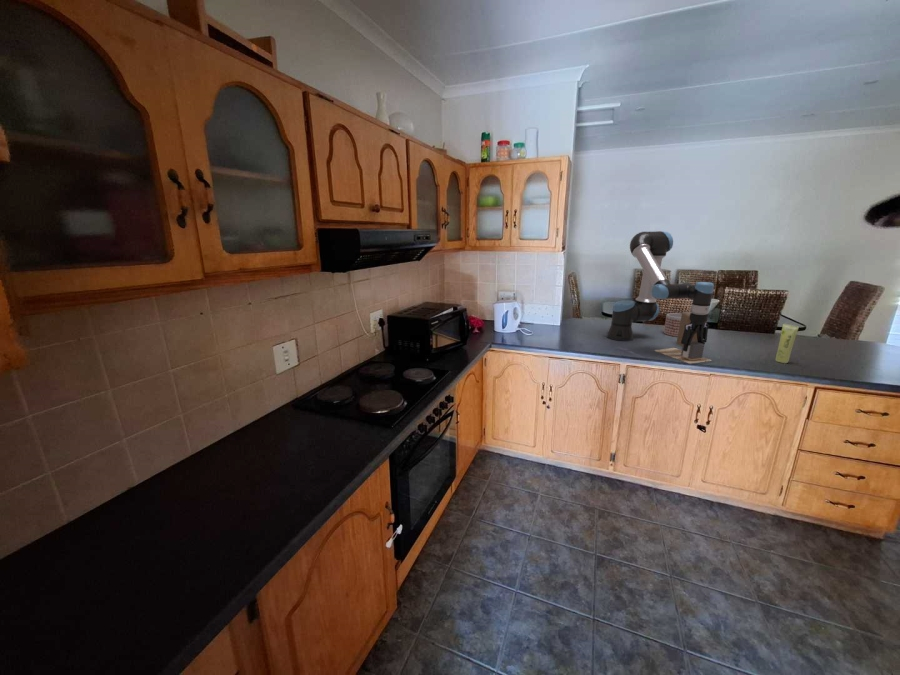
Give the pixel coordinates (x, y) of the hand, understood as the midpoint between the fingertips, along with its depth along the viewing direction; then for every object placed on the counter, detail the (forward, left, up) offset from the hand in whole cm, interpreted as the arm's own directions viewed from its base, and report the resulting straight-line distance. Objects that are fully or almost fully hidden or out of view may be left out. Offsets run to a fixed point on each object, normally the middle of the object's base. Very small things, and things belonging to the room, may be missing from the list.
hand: (691, 356), depth 185 cm
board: (-5, 0, -2) cm, 6 cm away
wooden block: (-17, +19, -2) cm, 26 cm away
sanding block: (0, 0, -1) cm, 1 cm away
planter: (-40, +35, -2) cm, 53 cm away
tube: (+16, +42, -2) cm, 45 cm away
